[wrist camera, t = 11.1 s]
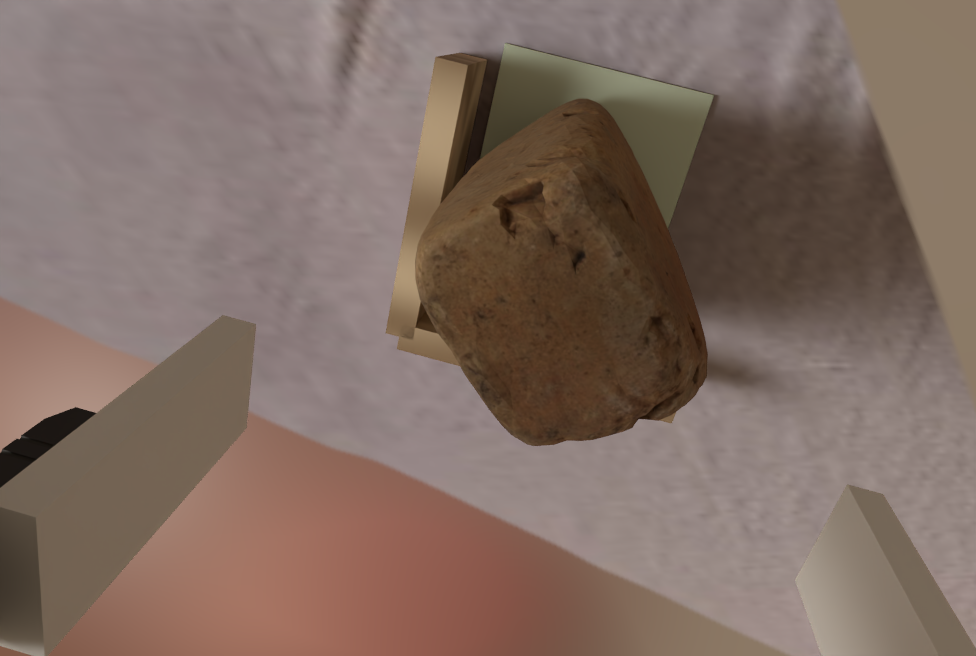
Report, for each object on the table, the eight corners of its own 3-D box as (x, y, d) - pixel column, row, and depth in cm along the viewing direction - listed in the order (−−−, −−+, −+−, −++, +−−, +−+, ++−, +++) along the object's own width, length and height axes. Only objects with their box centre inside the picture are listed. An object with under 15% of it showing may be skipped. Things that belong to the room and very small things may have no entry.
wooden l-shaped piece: (459, 52, 37) (435, 57, 32) (753, 126, 36) (781, 144, 31) (410, 305, 43) (383, 345, 38) (662, 372, 42) (671, 423, 37)
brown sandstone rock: (475, 147, 39) (365, 253, 20) (600, 76, 36) (601, 125, 18) (566, 312, 42) (541, 533, 23) (687, 256, 39) (762, 454, 21)
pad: (505, 43, 37) (505, 43, 36) (713, 95, 36) (714, 95, 36) (451, 288, 42) (451, 289, 42) (630, 336, 42) (630, 337, 42)
